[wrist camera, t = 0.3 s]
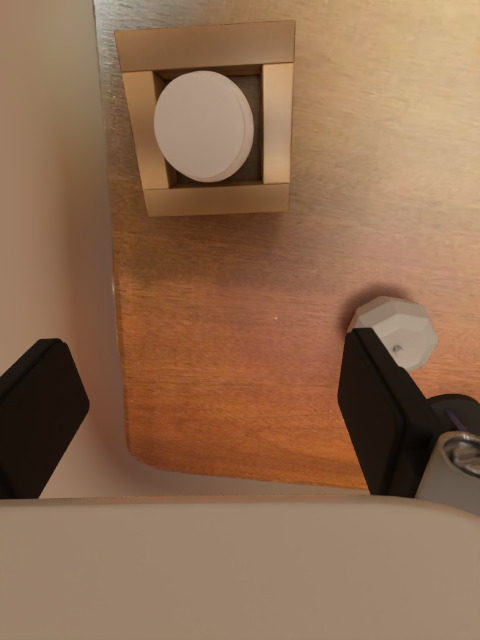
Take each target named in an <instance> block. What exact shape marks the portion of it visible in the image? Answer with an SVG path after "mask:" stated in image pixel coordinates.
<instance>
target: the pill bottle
mask: <svg viewBox="0 0 480 640" xmlns="http://www.w3.org/2000/svg"><path fill="white" fill-rule="evenodd" d="M154 131H155V136H156V140H157V143H158V146H159V148H160V150H161V152H162V154H163V156H164V157H165V158H166V160H167V161H168V162H169V163H170V164H171V165H172V166H173V167H174V168H175V169H176V170H178V171H179V172H181V173H182V174H184V175H185V176H187V177H189V178H191V179H194V180H197V181H201V182H216V181H220V180H223V179H226V178H228V177H229V176H231V175H232V174H234V173H235V172H236V171H237V170H238V169H239V168H240V167H241V166H242V165H243V164H244V162H245V161H246V159H247V157H248V155H249V153H250V150H251V147H252V143H253V137H254V122H253V116H252V112H251V108H250V106H249V103H248V101H247V99H246V97H245V96H244V94H243V93H242V91H241V90H240V89H239V88H238V86H237V85H236V84H235V83H234V82H232V81H231V80H230V79H228V78H227V77H225V76H223V75H221V74H219V73H216V72H212V71H195V72H192V73H187V74H184V75H181V76H179V77H177V78H176V79H174V80H173V81H172V82H170V83H169V84H168V85H167V86H166V88H165V89H164V90H163V92H162V93H161V95H160V97H159V99H158V102H157V105H156V108H155V114H154Z"/></svg>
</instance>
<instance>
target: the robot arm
mask: <svg viewBox="0 0 480 640" xmlns="http://www.w3.org/2000/svg"><path fill="white" fill-rule="evenodd" d="M337 396H338V404H339V407H340V410H341V413H342V416H343V418H344V421H345V424H346V427H347V430H348V432H349V435H350V438H351V441H352V444H353V446H354V449H355V452H356V455H357V458H358V460H359V463H360V466H361V469H362V472H363V474H364V477H365V480H366V483H367V486H368V488H369V491H370V494H371V495H318V494H313V495H312V494H308V495H307V494H304V495H303V494H293V495H213V496H212V495H210V496H147V497H96V498H95V497H93V498H51V499H50V498H49V499H38V498H39V496H40V494H41V493H42V491H43V489H44V487H45V486H46V484H47V482H48V481H49V479H50V477H51V475H52V474H53V472H54V470H55V468H56V466H57V465H58V463H59V461H60V460H61V458H62V456H63V455H64V453H65V451H66V449H67V448H68V446H69V444H70V442H71V441H72V439H73V437H74V435H75V434H76V432H77V430H78V428H79V427H80V425H81V423H82V421H83V420H84V418H85V416H86V415H87V413H88V411H89V405H90V403H89V399H88V397H87V394H86V392H85V389H84V386H83V384H82V381H81V378H80V376H79V373H78V371H77V368H76V366H75V363H74V360H73V358H72V355H71V352H70V350H69V347H68V345H67V344H66V343H64V342H63V341H62V340H61V339H58V338H53V339H40V340H38V341H37V342H36V343H35V344H34V345H33V346H32V347H31V348H30V349H29V350H28V351H27V352H25V353H24V354H23V355H22V356H21V357H20V358H19V359H18V360H17V361H16V362H15V363H14V364H13V365H12V366H11V367H10V368H9V369H8V370H7V371H6V372H5V373H4V374H3V375H2V376H1V377H0V640H480V437H479V436H476V435H473V434H470V433H467V432H460V431H452V432H449V430H448V429H447V428H446V426H445V425H444V423H443V422H442V421H441V419H440V418H439V416H438V415H437V413H436V412H435V411H434V409H433V408H432V406H431V405H430V404H429V402H428V401H427V399H426V398H425V396H424V395H423V394H422V392H421V391H420V389H419V388H418V387H417V385H416V384H415V382H414V381H413V379H412V378H411V377H410V375H409V374H408V372H407V371H406V370H405V369H404V368H403V367H401V366H398V364H397V363H396V362H395V360H394V359H393V357H392V356H391V354H390V353H389V351H388V350H387V348H386V347H385V346H384V344H383V343H382V341H381V340H380V338H379V337H378V335H377V334H376V332H375V331H374V329H373V328H371V327H364V328H353V329H352V331H351V332H347V333H346V337H345V344H344V351H343V358H342V365H341V373H340V380H339V387H338V395H337Z"/></svg>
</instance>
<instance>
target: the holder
mask: <svg viewBox="0 0 480 640" xmlns="http://www.w3.org/2000/svg"><path fill="white" fill-rule="evenodd" d="M295 24H296V21H295V20H285V21H269V22H253V23H237V24H220V25H204V26H188V27H172V28H155V29H139V30H123V31H114V35H115V40H116V46H117V51H118V57H119V62H120V68H121V72H123V73H122V78H123V84H124V89H125V95H126V100H127V106H128V111H129V116H130V122H131V127H132V133H133V138H134V144H135V149H136V155H137V160H138V166H139V171H140V177H141V182H142V188H143V193H144V199H145V204H146V210H147V215H148V217H167V216H191V215H215V214H238V213H262V212H285V211H289V205H290V174H291V144H292V114H293V83H294V54H295ZM195 71H212V72H216V73H219V74H221V75H223V76H237V75H255V74H260V122H261V180H242V181H221V182H199V183H177V176H176V169H175V168H174V167H173V166H172V165H171V164H170V163H169V162H168V161H167V160H166V158H165V157H164V156H163V154H162V152H161V150H160V148H159V146H158V143H157V140H156V136H155V131H154V114H155V108H156V105H157V102H158V99H159V97H160V95H161V93H162V92H163V90H164V89H165V83H164V80H166V79H176V78H177V77H179V76H181V75H184V74H187V73H192V72H195Z"/></svg>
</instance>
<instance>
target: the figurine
mask: <svg viewBox="0 0 480 640" xmlns="http://www.w3.org/2000/svg"><path fill="white" fill-rule="evenodd" d="M427 401H428V402H429V404H430V405H431V406H432V408H433V409H434V411H435V412H436V413H437V415H438V416H439V418H440V419H441V421H442V422H443V423H444V425H445V426H446V428H447V429H448V430H449V432H452V431H460V432H467V433H470V434H473V435H476V436H479V437H480V404H479V403H478V402H477V401H476V400H475V399H473V398H471V397H469V396H465V395H461V394H444V395H439V396H435V397H432V398H429V399H427Z"/></svg>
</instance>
